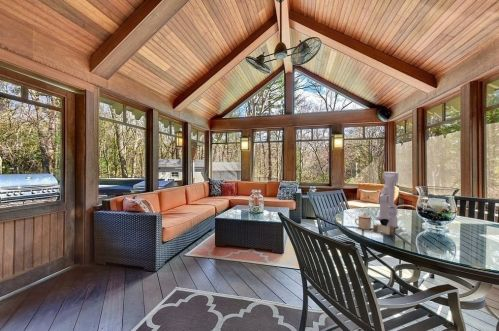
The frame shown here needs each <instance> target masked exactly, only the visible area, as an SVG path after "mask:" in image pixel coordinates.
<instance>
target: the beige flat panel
mask: <svg viewBox="0 0 499 331" xmlns="http://www.w3.org/2000/svg"><path fill="white" fill-rule="evenodd" d="M375 225H378V228H377V231H380V232H383V233H386V234H390V227H387V226H384V225H381V223H375Z"/></svg>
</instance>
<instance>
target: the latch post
mask: <svg viewBox="0 0 499 331" xmlns="http://www.w3.org/2000/svg"><path fill="white" fill-rule="evenodd" d="M377 228H378V225H376V224H373V225H372V231H373V232H375V233H378V232H377V231H378V230H377Z"/></svg>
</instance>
